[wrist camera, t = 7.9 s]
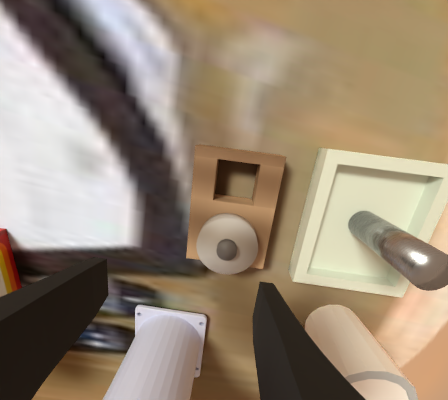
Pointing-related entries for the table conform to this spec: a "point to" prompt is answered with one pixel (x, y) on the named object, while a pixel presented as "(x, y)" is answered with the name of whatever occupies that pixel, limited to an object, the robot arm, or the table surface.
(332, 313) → the cream cylinder
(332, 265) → the tray
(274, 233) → the table surface
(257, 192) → the block
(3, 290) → the baking soda box
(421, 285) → the pin
